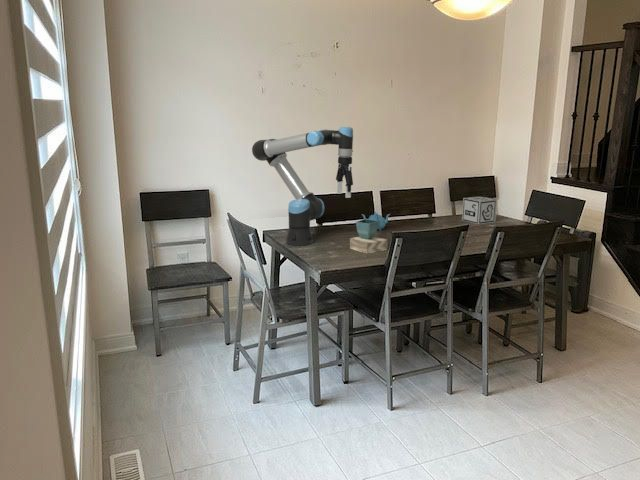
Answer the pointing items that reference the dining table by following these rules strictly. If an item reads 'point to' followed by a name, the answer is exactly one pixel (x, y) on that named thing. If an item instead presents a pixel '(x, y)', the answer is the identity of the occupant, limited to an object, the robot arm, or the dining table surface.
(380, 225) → the teapot
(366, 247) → the birch block
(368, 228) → the flower pot
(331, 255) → the dining table surface
